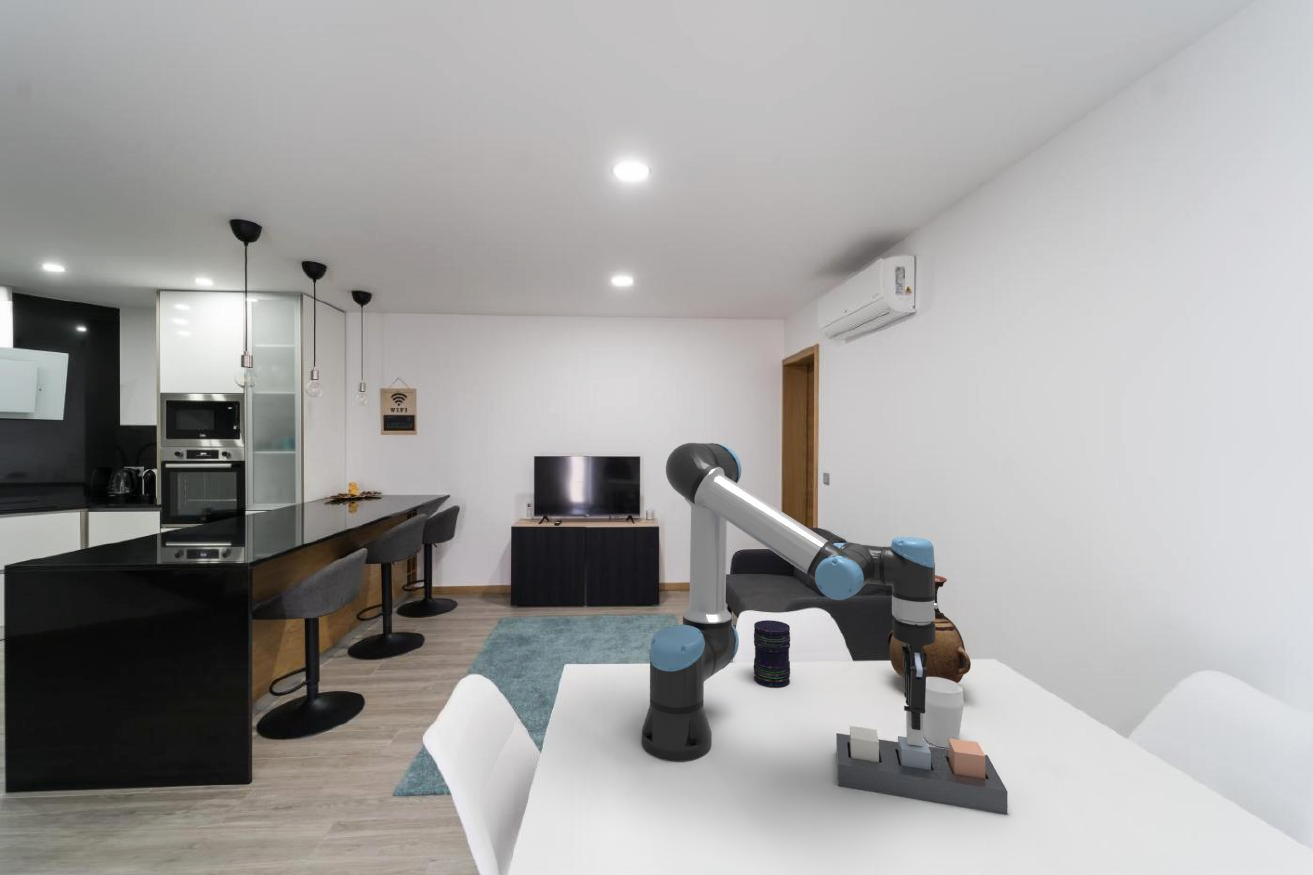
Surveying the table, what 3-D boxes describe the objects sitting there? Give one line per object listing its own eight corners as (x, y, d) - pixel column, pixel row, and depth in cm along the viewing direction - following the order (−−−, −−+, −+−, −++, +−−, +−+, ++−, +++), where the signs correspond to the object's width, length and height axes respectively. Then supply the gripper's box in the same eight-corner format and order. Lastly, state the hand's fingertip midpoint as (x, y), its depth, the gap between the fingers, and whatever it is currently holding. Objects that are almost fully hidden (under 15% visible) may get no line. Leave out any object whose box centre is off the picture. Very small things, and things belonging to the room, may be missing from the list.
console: (838, 785, 104) (838, 764, 104) (836, 752, 115) (836, 733, 115) (1007, 814, 96) (1007, 791, 96) (987, 775, 107) (987, 755, 107)
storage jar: (769, 670, 158) (769, 618, 159) (797, 681, 151) (797, 626, 151) (746, 679, 152) (746, 624, 152) (774, 691, 145) (774, 634, 145)
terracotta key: (954, 779, 101) (954, 751, 102) (948, 764, 106) (948, 738, 106) (985, 784, 100) (985, 756, 100) (977, 768, 105) (977, 742, 105)
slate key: (901, 775, 104) (901, 748, 104) (898, 761, 109) (898, 735, 109) (930, 780, 102) (930, 753, 103) (925, 765, 107) (925, 739, 107)
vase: (871, 678, 153) (871, 569, 154) (924, 670, 159) (923, 566, 159) (931, 713, 133) (930, 588, 134) (989, 703, 138) (988, 583, 139)
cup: (970, 753, 115) (970, 695, 116) (924, 748, 117) (923, 691, 117) (956, 732, 124) (955, 678, 124) (913, 727, 126) (912, 674, 126)
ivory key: (851, 764, 106) (851, 738, 107) (849, 750, 111) (849, 725, 111) (878, 768, 105) (878, 742, 105) (876, 754, 110) (876, 729, 110)
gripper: (942, 631, 99) (943, 765, 98) (928, 611, 111) (929, 729, 111) (897, 627, 101) (898, 758, 100) (888, 608, 114) (889, 724, 113)
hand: (914, 743), depth 106 cm, fingers closed
